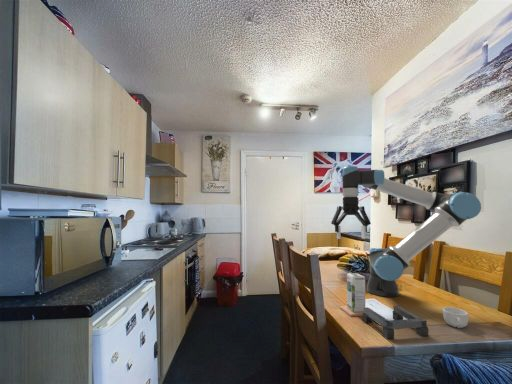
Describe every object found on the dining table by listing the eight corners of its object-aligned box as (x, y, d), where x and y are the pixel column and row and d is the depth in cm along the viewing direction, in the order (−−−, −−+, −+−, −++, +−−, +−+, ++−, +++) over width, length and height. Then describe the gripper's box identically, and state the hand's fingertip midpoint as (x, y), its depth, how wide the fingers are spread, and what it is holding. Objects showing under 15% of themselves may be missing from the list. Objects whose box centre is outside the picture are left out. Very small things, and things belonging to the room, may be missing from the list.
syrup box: (346, 307, 111) (345, 273, 112) (359, 306, 111) (358, 273, 112) (352, 312, 105) (352, 276, 106) (366, 311, 106) (365, 276, 107)
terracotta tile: (360, 306, 113) (360, 305, 113) (373, 315, 104) (373, 313, 104) (339, 308, 112) (339, 306, 112) (350, 316, 103) (350, 314, 103)
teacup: (441, 319, 101) (440, 305, 101) (465, 323, 98) (464, 308, 98) (446, 329, 92) (446, 314, 93) (473, 334, 89) (472, 318, 89)
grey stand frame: (398, 318, 101) (398, 305, 102) (428, 336, 87) (427, 321, 88) (362, 320, 99) (362, 307, 99) (387, 339, 85) (386, 323, 85)
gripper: (368, 197, 135) (369, 237, 134) (324, 196, 131) (324, 238, 130) (377, 196, 128) (378, 239, 126) (330, 195, 124) (331, 239, 122)
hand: (351, 238), depth 128 cm, fingers open, 13 cm apart
